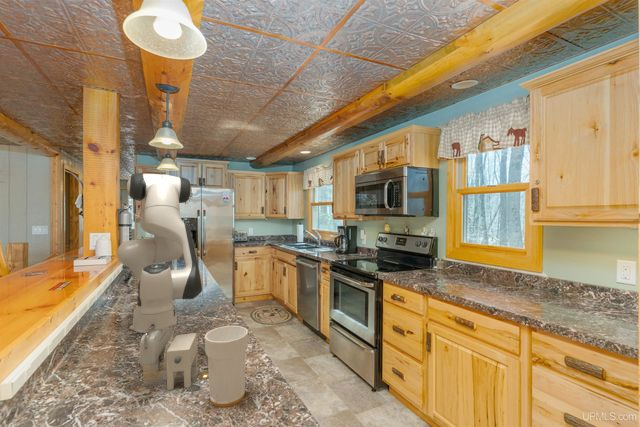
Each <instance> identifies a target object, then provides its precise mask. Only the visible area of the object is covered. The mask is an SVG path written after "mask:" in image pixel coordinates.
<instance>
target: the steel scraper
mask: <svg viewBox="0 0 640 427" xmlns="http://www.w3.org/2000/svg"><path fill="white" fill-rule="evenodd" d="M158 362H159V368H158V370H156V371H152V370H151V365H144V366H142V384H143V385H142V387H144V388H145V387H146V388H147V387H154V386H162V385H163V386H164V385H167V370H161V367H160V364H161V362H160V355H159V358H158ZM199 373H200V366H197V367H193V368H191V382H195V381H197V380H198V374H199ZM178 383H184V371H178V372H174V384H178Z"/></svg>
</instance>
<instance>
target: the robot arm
mask: <svg viewBox="0 0 640 427" xmlns="http://www.w3.org/2000/svg"><path fill="white" fill-rule="evenodd" d="M126 191H127V193H128V196H129V197H130V198H131V199H132V200H135V201H138V202H141V201H142V202H141V211H140V222H139V227H140V228H141V230H143V232H146V234H147V233H148V234H149V235H153V237H152V238H150V237H149V238H139V239H138V238H137V239H130V240H127V241H123V242H122V243H120V245H119V246H118V248H117V250H116V251H117V252H116V255H117V259H118V261H119V262H120V263H121V264H122V265H124V266H126V267H127V268H129V269H130V270H131V272H133V274H134V276H135V277H136V282H137V292H138V293H137V297H136V298H137V299H136V303H137V304H136V305H137V306H136V307H135V308H134V309H133V321H132V324H131V325H130V326H129V330H132V331H134V332H136V333H141V334H142V333H143V335H142V336H141V338H140V343H139V358H138V359H139V365H140V366H142V367H143V366H144V365H151V370H152V371H156V370H158V368H159V362H158V358H159V355H160V363H163V361H164V360H165V352H166V346H167V345H168V343H169V342H170V340H171V338H172V336H173V333H174V326H177V325H178V312H177V313H176V308H174V303H173V301H175V300H194V299H195V298H196V297H198V296H199V295H200V294H201V293H202V292H203V288H204V280H203V275H202V273H201V271H200V268H199V264H198V258H197V257H198V256H197V252H196V248H195V244H194V239H193V235H192V231H191V228H190V226H189V224H187V223H185V222H184V221H183V220H182V218H181V215H180V214H181V212H180V210H181V208H180V204H182V203H186V202H188V201H189V200H190V198H191V195H192V191H193V189H192V185H191V182H190V180H189V179H188V178H186V177H183V176H176V175H175V176H174V175H169V174H164V173H163V174H158V173H143V172H135V173H133V174H131V175H130V177H129V178H128V180H127V184H126ZM182 255H183V260H184V263H185V267H184V268H182V269H172V268H171V267H170V265H168V264H167V262H169V263H170V262H171V261H175V260H178V259H180V258H181V257H182ZM171 269H172V270H171Z"/></svg>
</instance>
